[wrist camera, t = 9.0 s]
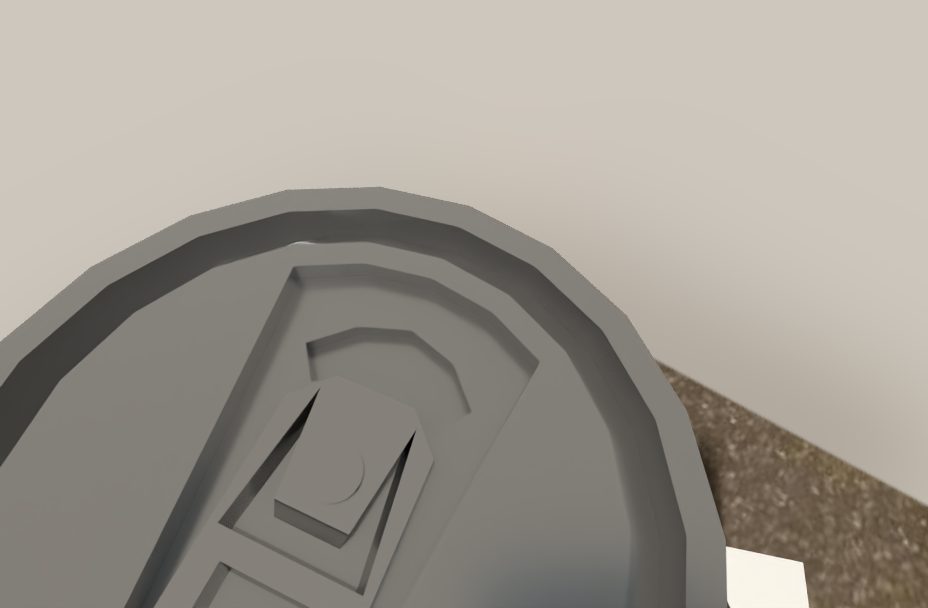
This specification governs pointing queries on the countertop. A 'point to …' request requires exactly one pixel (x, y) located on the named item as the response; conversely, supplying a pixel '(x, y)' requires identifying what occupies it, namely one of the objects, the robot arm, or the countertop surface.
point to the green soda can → (345, 424)
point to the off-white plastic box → (764, 581)
